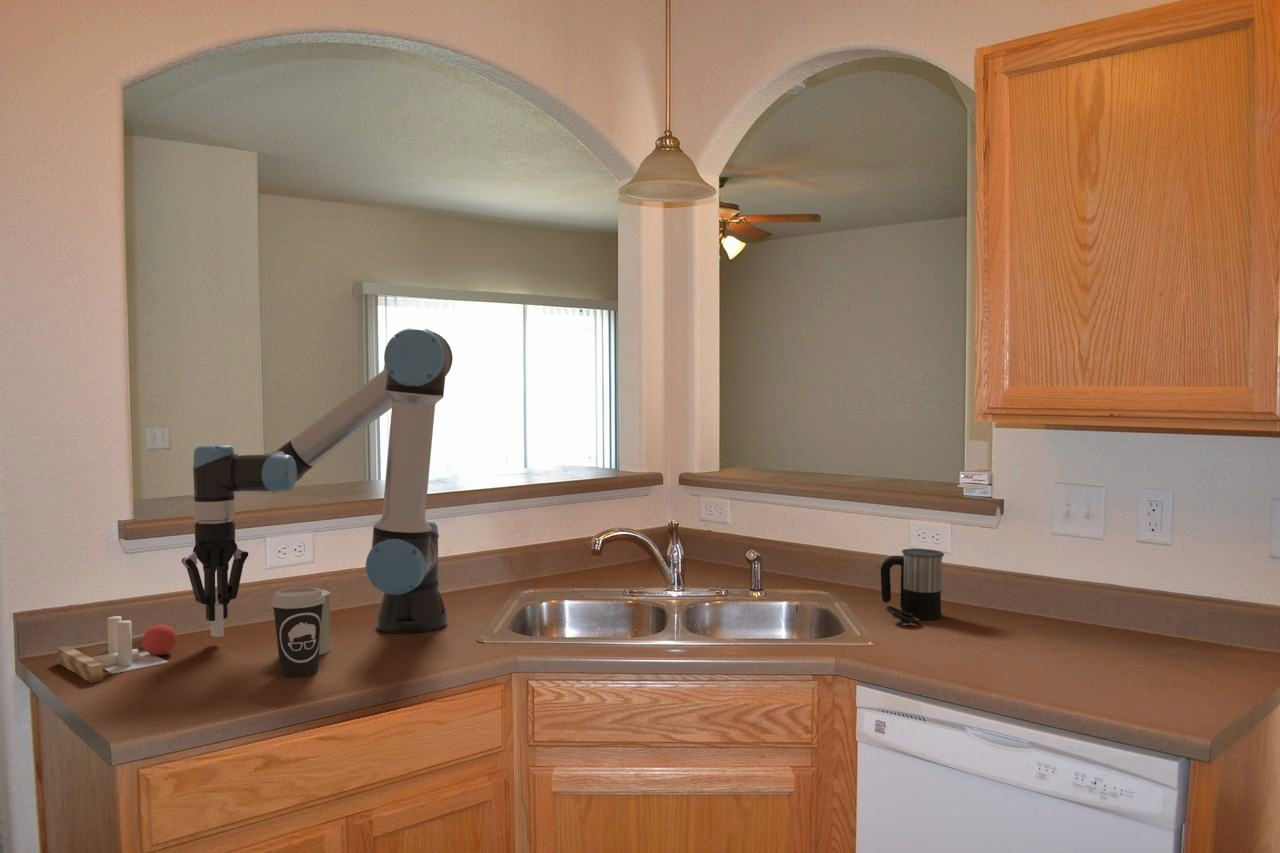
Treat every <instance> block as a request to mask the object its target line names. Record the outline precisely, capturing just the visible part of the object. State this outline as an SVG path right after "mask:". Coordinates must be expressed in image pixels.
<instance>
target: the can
mask: <svg viewBox="0 0 1280 853" xmlns="http://www.w3.org/2000/svg"><path fill="white" fill-rule="evenodd" d="M320 590H321V593H322V594H323V595H324V597H325V602H324V603H323V607H322V620H321V633H320V647H319V656H321V655H325V654H327V653H329V652H330V651H331V650H332V645H331V610H330V608H331V606H330V605H331V601H330V600H331V599H330V598H331V592H330V591H328V590H326V589H320Z"/></svg>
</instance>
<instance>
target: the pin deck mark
mask: <svg viewBox="0 0 1280 853" xmlns="http://www.w3.org/2000/svg"><path fill="white" fill-rule="evenodd" d="M139 655H140V658H139V660H138V661H133V665H132V666H129V667H118V664H117V665H112V666H107V667H103V669H104V670H103V671H105V670H106V671H105V672H107V671H108V672H107V673H109V674H111V675H116V674H120V672H121V673H124V672H130V671H135V670H140V669H145V668H150V667H155V666H160V665H164V664H165V665H166V664H169V661H168V660H166V659H164V658H162V657H160V656H156V655H152V654H150V653H148V652H147V651H146V650H143V651H139ZM115 673H116V674H115Z"/></svg>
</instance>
